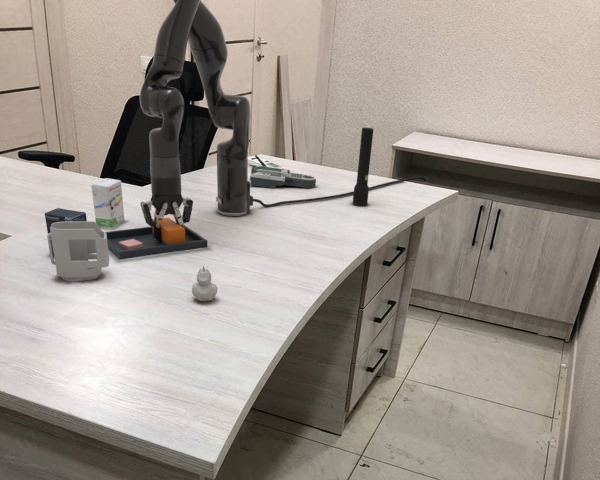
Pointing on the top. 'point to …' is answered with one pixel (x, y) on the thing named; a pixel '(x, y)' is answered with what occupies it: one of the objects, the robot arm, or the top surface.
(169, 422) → the top surface
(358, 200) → the flashlight
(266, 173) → the communication device
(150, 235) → the tray
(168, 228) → the orange rectangular block
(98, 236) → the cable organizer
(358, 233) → the top surface
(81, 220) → the box
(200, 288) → the rubber duck
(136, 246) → the pink block
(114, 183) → the ink box
